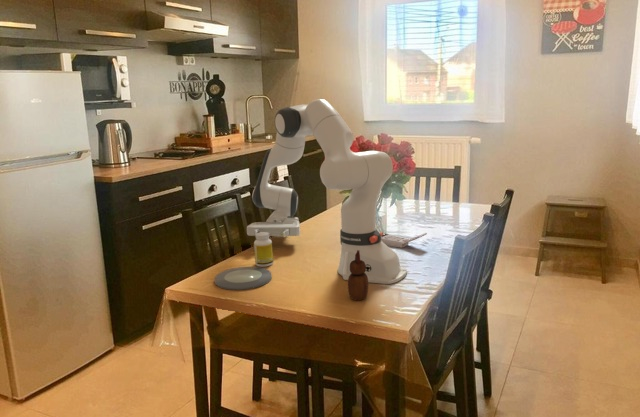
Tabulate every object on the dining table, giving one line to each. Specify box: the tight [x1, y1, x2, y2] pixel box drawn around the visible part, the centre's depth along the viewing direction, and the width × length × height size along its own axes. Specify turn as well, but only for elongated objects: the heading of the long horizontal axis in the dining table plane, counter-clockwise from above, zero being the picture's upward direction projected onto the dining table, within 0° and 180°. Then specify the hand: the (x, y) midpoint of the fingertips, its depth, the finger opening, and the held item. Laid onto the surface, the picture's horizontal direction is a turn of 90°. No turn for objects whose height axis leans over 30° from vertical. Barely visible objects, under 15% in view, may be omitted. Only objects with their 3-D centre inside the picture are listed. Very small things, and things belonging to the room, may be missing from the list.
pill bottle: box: [253, 232, 274, 268], centre depth 184 cm, size 6×6×11 cm
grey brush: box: [381, 232, 428, 249], centre depth 202 cm, size 6×6×25 cm
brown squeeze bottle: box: [347, 250, 369, 301], centre depth 151 cm, size 7×6×15 cm
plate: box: [214, 266, 272, 291], centre depth 171 cm, size 18×18×1 cm
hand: (269, 235), depth 196 cm, fingers open, 8 cm apart
